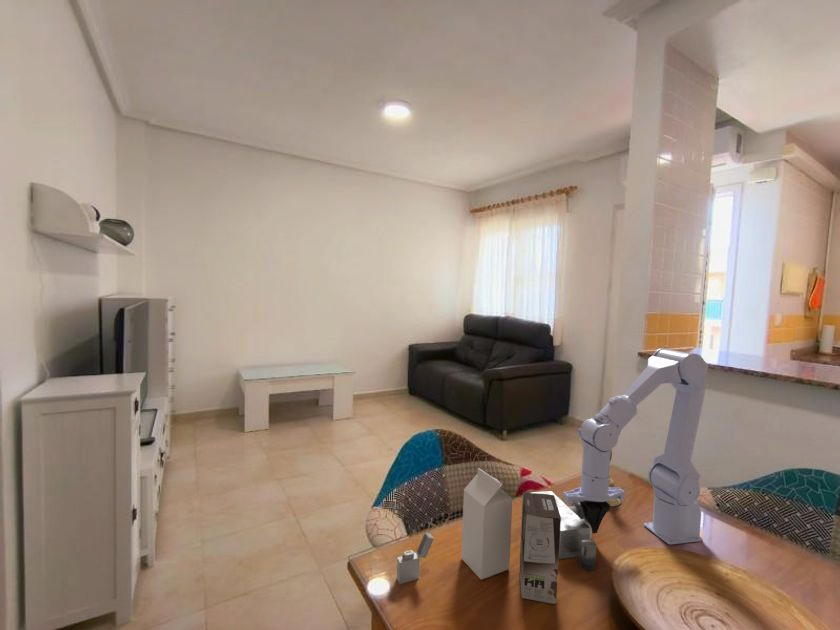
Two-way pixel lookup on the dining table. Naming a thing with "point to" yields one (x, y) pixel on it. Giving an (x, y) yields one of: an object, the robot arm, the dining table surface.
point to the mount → (569, 530)
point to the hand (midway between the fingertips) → (591, 530)
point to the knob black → (577, 509)
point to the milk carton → (486, 526)
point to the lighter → (413, 560)
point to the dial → (587, 554)
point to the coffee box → (539, 547)
